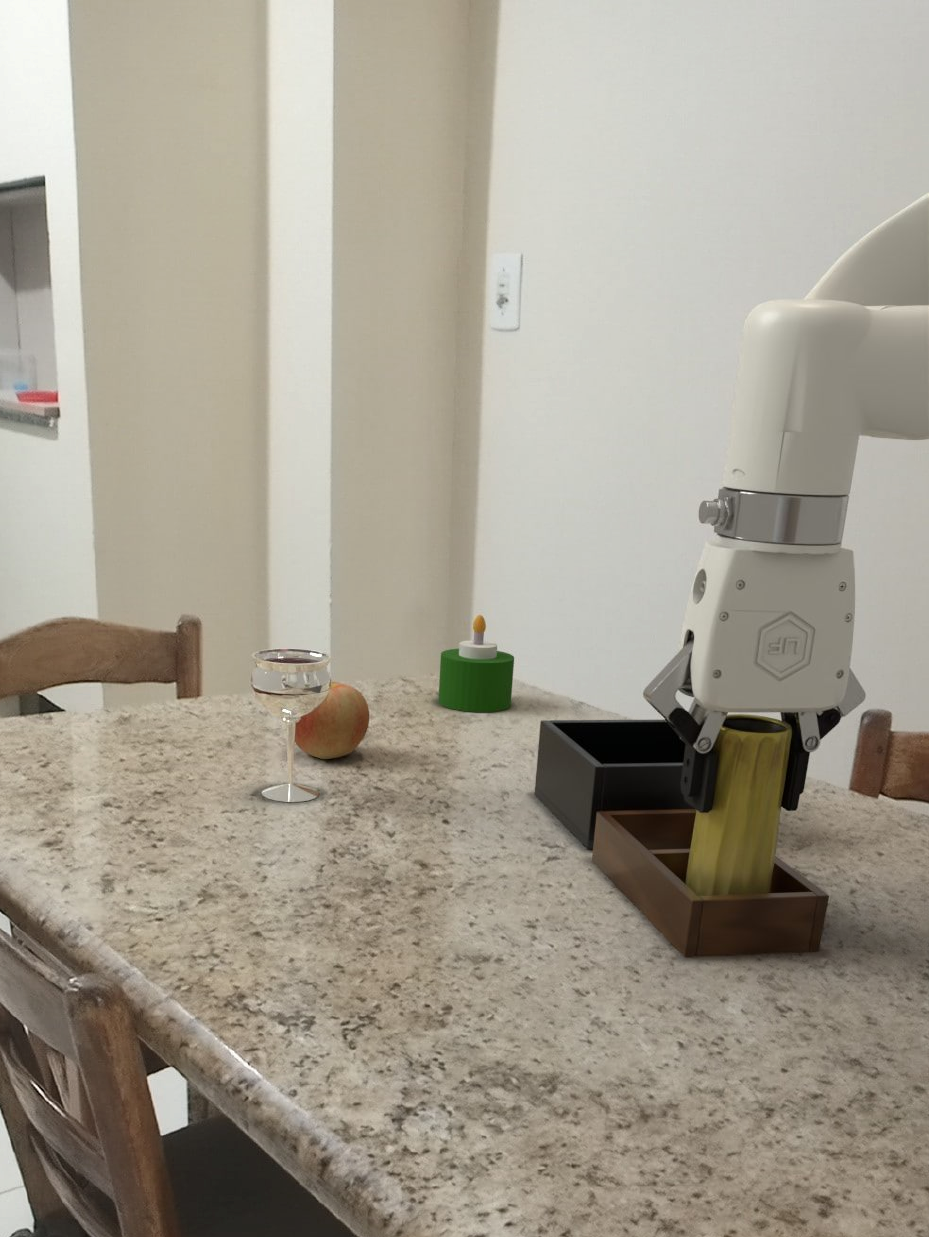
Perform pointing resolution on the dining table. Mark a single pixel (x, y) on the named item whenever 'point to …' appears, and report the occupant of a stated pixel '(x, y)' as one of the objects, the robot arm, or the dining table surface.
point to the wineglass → (291, 700)
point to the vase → (741, 809)
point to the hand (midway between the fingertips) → (740, 803)
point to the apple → (334, 724)
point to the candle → (476, 675)
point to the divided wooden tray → (703, 925)
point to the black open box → (607, 770)
